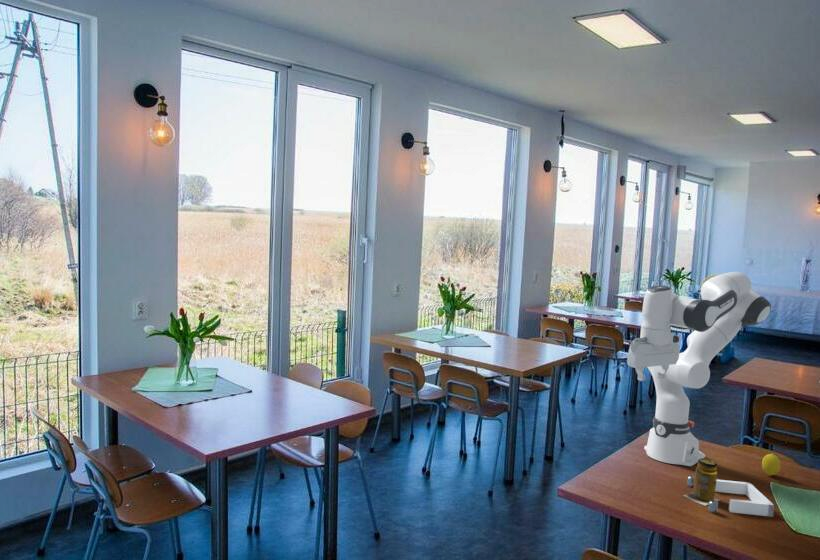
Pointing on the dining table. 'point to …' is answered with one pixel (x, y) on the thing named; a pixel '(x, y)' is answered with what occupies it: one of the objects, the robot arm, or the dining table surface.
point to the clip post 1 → (690, 481)
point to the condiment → (704, 482)
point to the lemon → (771, 464)
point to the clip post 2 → (713, 507)
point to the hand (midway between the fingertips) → (651, 379)
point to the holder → (754, 507)
